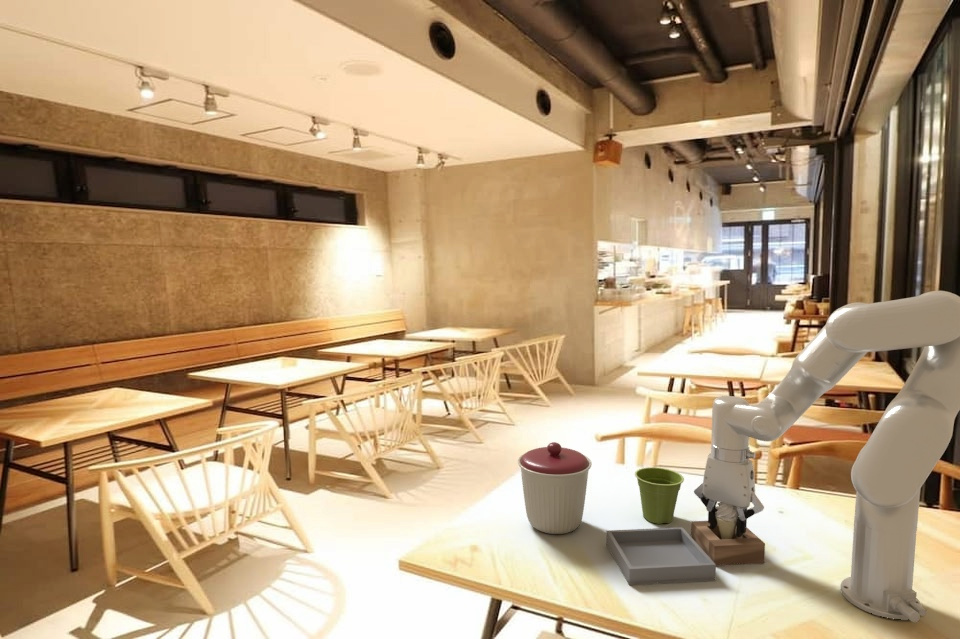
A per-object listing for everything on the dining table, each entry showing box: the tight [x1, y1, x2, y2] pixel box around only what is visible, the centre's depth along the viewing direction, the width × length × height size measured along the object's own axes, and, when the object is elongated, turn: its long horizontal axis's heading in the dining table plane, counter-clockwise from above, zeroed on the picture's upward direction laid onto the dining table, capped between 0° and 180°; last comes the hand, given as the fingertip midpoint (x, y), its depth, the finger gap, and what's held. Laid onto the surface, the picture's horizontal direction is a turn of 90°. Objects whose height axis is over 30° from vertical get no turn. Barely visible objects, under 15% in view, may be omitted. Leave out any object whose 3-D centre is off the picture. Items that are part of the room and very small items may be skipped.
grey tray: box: [605, 526, 717, 586], centre depth 121 cm, size 16×18×4 cm
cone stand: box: [690, 520, 766, 567], centre depth 125 cm, size 11×11×4 cm
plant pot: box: [634, 466, 685, 525], centre depth 140 cm, size 12×12×11 cm
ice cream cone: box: [715, 502, 739, 539], centre depth 124 cm, size 5×5×15 cm
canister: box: [517, 442, 592, 535], centre depth 137 cm, size 18×18×21 cm
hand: (726, 530), depth 124 cm, fingers closed on ice cream cone, 5 cm apart
